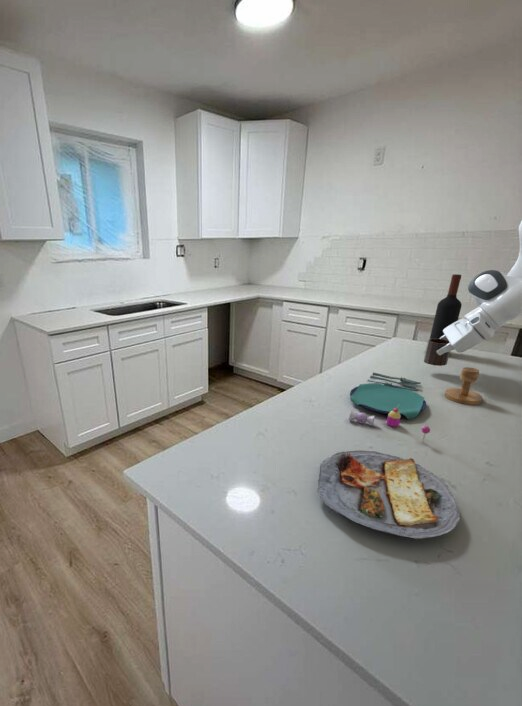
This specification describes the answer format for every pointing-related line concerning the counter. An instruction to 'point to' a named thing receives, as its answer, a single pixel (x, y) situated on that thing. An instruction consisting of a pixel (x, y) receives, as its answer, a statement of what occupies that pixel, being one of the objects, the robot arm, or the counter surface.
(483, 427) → the counter surface
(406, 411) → the cutlery set
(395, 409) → the candy
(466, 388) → the wooden stand
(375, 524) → the food plate
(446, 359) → the walnut ring
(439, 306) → the wine bottle
